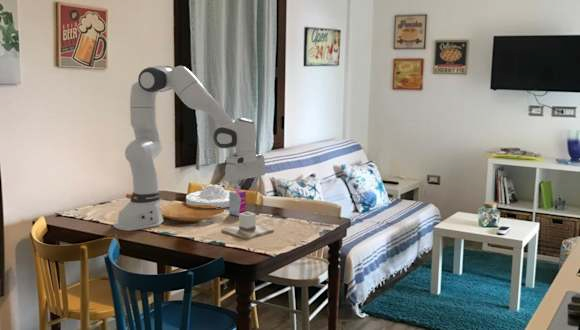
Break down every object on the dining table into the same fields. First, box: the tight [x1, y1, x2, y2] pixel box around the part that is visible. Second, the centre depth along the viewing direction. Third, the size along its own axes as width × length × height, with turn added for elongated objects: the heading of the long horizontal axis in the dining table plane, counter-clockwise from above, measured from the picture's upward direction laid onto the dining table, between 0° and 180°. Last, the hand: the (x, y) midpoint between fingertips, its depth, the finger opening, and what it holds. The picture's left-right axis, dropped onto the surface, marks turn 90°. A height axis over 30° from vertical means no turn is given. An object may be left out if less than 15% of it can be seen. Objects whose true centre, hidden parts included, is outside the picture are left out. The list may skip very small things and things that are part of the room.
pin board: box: [221, 223, 275, 240], centre depth 272 cm, size 16×16×4 cm
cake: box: [185, 181, 231, 209], centre depth 324 cm, size 28×28×10 cm
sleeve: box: [238, 211, 257, 232], centre depth 272 cm, size 5×5×7 cm
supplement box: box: [228, 189, 247, 218], centre depth 299 cm, size 6×6×12 cm
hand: (246, 188), depth 270 cm, fingers open, 8 cm apart
